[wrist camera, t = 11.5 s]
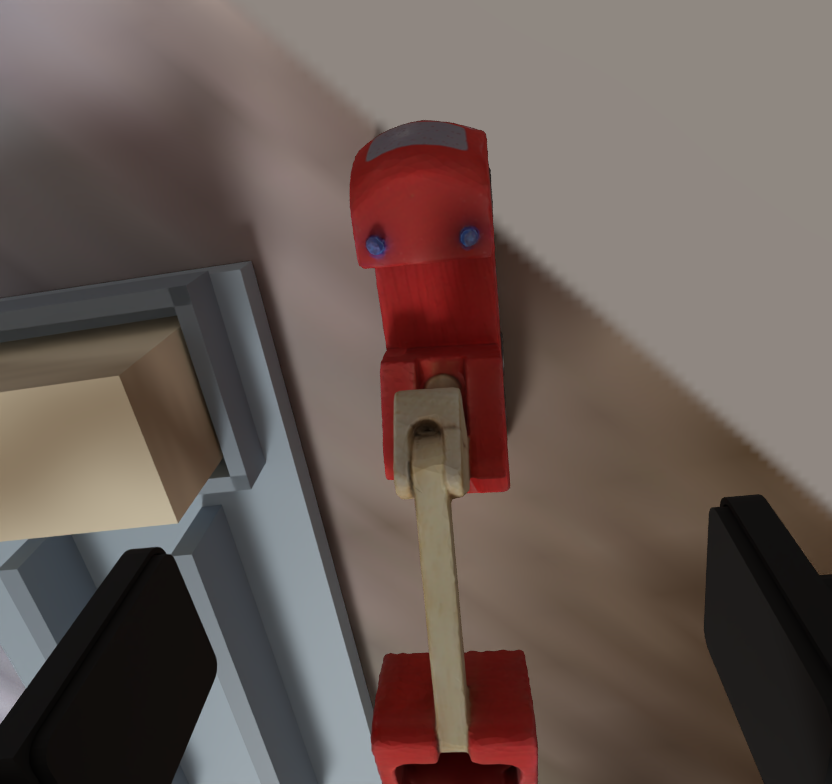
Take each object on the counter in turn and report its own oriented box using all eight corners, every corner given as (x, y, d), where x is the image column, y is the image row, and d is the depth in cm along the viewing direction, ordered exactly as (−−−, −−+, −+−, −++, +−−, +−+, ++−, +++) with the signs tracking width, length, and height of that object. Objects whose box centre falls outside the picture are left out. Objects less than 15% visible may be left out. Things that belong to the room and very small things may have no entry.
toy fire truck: (489, 109, 16) (509, 127, 8) (514, 542, 22) (542, 839, 13) (361, 125, 17) (238, 158, 8) (417, 546, 22) (383, 836, 14)
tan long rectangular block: (238, 434, 20) (178, 523, 16) (-46, 469, 21) (-168, 559, 17) (197, 312, 18) (118, 375, 14) (-107, 359, 19) (-259, 429, 15)
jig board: (391, 779, 28) (382, 868, 25) (107, 788, 30) (64, 871, 26) (250, 257, 18) (204, 291, 15) (-154, 318, 20) (-270, 360, 17)
